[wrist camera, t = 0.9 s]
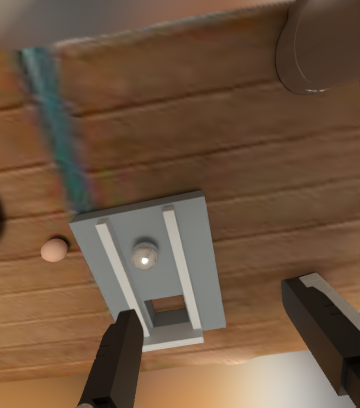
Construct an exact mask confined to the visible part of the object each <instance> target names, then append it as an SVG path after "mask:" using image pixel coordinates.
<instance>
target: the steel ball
mask: <svg viewBox="0 0 360 408" xmlns="http://www.w3.org/2000/svg"><path fill="white" fill-rule="evenodd" d="M158 259H159V252H158V249H157V248H156V246H155V245H154V244H152V243H149V242H142V243H139V244H137V245H136V246H135V247H134V248H133V250H132V253H131V261H132V264H133V265H134V267H135V268H137V269H139V270H142V271H147V270H150V269H152V268H153V267H154V266H155V265H156V264H157V262H158Z"/></svg>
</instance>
